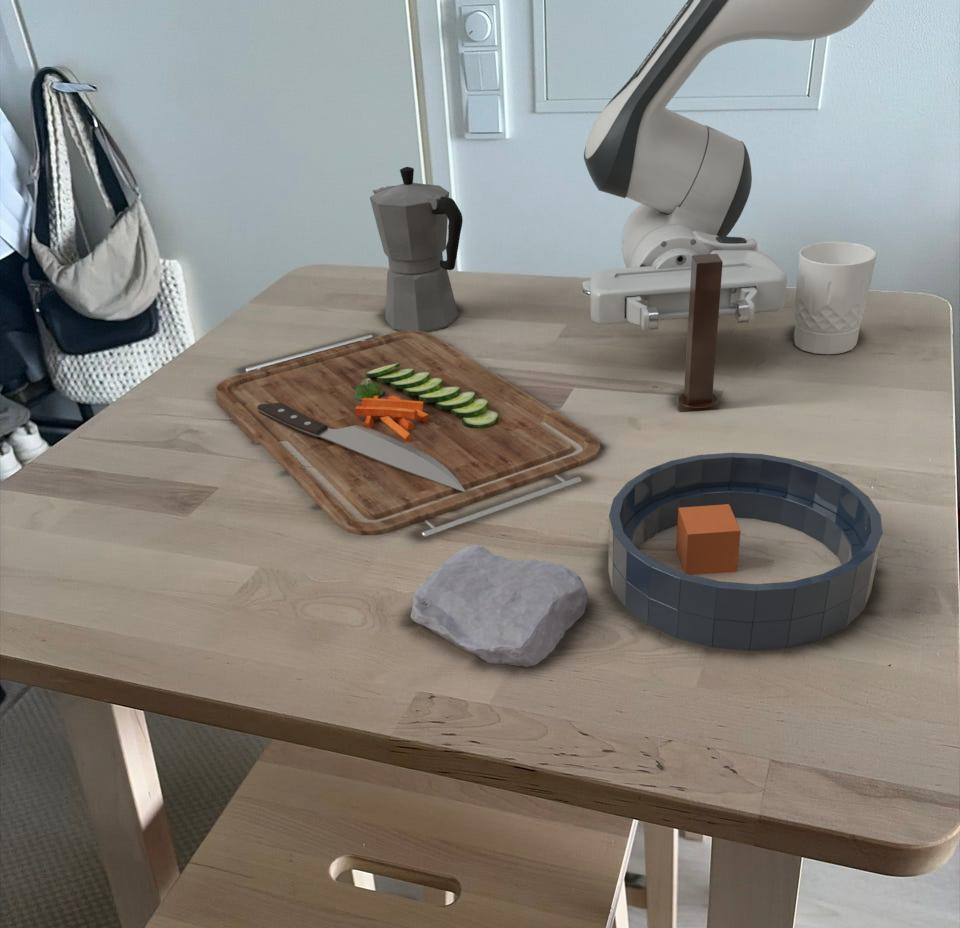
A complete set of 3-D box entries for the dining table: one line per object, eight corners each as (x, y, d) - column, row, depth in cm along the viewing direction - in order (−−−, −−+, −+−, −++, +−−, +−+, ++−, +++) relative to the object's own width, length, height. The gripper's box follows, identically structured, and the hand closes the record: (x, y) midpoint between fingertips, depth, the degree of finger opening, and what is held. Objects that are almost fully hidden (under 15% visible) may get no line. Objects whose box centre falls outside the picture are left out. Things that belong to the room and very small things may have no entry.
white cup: (865, 357, 112) (881, 264, 106) (790, 357, 113) (802, 265, 107) (856, 330, 118) (871, 240, 112) (785, 330, 119) (796, 241, 113)
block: (725, 547, 83) (729, 503, 81) (736, 574, 80) (740, 530, 77) (675, 550, 83) (678, 507, 81) (684, 578, 80) (687, 534, 77)
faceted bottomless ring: (825, 508, 88) (835, 444, 84) (906, 649, 72) (923, 579, 69) (595, 524, 88) (595, 461, 85) (627, 668, 73) (629, 599, 69)
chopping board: (631, 471, 95) (631, 441, 93) (369, 565, 85) (364, 534, 84) (411, 331, 127) (408, 306, 125) (202, 388, 117) (196, 362, 115)
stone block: (538, 701, 73) (598, 605, 78) (527, 656, 70) (590, 559, 75) (402, 660, 79) (466, 573, 84) (385, 616, 75) (453, 528, 80)
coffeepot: (360, 319, 131) (339, 168, 120) (417, 298, 136) (402, 151, 125) (439, 348, 122) (424, 187, 111) (497, 324, 127) (488, 168, 116)
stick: (712, 398, 106) (724, 250, 97) (721, 415, 103) (733, 263, 94) (674, 401, 106) (681, 253, 97) (681, 418, 103) (689, 266, 94)
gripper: (579, 251, 111) (593, 295, 100) (769, 236, 111) (804, 278, 100) (580, 309, 115) (594, 357, 104) (763, 295, 114) (797, 341, 103)
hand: (698, 318), depth 102 cm, fingers open, 8 cm apart
